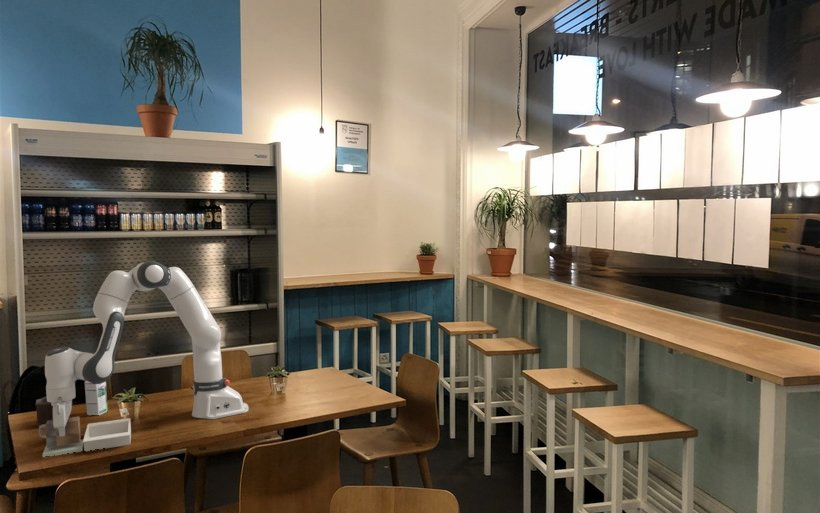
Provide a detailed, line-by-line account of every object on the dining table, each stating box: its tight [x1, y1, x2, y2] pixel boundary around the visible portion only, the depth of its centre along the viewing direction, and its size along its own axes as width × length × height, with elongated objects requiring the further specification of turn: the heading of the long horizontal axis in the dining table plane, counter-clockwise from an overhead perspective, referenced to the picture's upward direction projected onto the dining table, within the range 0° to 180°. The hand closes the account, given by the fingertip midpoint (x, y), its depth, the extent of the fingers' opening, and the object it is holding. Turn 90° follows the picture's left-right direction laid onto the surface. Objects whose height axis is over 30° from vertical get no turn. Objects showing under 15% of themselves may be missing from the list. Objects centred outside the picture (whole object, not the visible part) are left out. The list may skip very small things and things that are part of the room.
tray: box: [83, 417, 132, 452], centre depth 224 cm, size 15×21×4 cm
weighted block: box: [44, 416, 82, 448], centre depth 217 cm, size 10×5×8 cm, turn 114°
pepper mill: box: [35, 395, 53, 429], centre depth 250 cm, size 16×11×18 cm
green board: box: [42, 438, 84, 458], centre depth 217 cm, size 12×10×1 cm
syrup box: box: [84, 381, 109, 416], centre depth 258 cm, size 6×6×14 cm
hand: (63, 432), depth 217 cm, fingers closed on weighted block, 5 cm apart
